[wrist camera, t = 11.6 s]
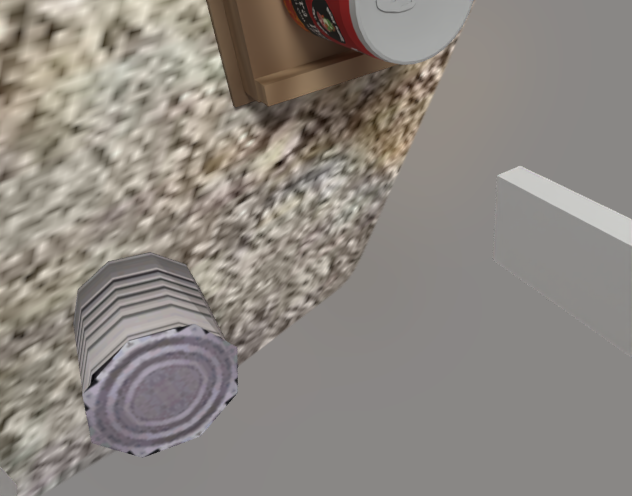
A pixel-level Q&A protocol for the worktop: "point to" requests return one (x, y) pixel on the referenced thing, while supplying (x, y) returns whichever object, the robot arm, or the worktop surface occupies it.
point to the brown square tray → (278, 53)
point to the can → (150, 356)
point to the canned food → (384, 25)
